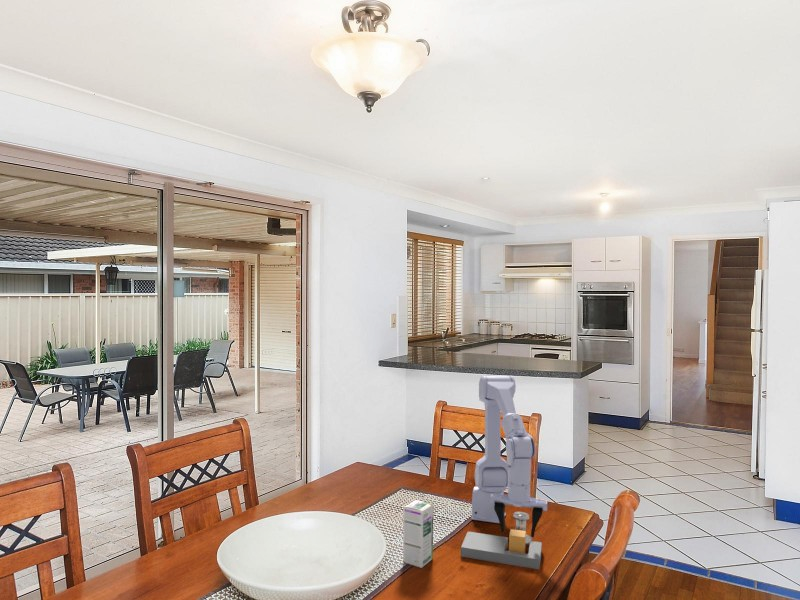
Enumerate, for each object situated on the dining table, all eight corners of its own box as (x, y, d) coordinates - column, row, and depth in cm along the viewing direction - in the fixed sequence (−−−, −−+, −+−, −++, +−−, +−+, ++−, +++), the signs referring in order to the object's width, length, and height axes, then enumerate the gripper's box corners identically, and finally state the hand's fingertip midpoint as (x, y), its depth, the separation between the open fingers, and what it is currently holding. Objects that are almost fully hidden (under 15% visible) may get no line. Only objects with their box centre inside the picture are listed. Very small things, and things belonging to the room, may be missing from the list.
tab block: (508, 558, 148) (509, 535, 148) (509, 551, 151) (510, 529, 151) (524, 560, 147) (524, 537, 146) (525, 553, 150) (525, 531, 150)
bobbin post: (508, 543, 156) (509, 517, 156) (510, 534, 162) (511, 509, 162) (530, 546, 154) (531, 520, 154) (532, 537, 160) (532, 512, 160)
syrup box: (422, 568, 141) (423, 511, 141) (402, 562, 144) (403, 505, 144) (433, 559, 146) (434, 503, 145) (413, 553, 149) (414, 498, 149)
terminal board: (460, 556, 148) (460, 547, 148) (467, 540, 157) (467, 531, 157) (539, 569, 142) (539, 559, 142) (541, 551, 151) (541, 542, 151)
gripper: (489, 483, 147) (487, 535, 147) (547, 490, 142) (545, 544, 143) (493, 475, 153) (491, 524, 154) (548, 481, 149) (546, 532, 150)
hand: (517, 533), depth 149 cm, fingers open, 7 cm apart
